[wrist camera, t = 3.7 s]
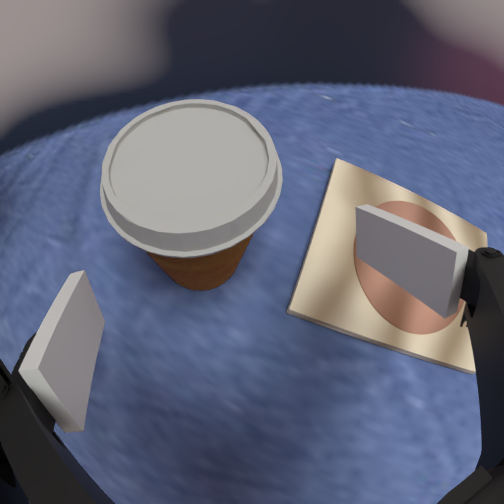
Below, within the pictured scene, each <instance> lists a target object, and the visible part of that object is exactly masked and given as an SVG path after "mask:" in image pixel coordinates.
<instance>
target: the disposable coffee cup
mask: <svg viewBox="0 0 504 504" xmlns="http://www.w3.org/2000/svg"><path fill="white" fill-rule="evenodd" d="M281 186H282V166H281V163H280V160H279V158H278V155H277V152H276V151H275V146H274V144H273V141H272V139H271V137H270V135H269V133H268V132H267V130H266V129H265V128H264V127H263V125H262V124H261V123H260V122H259V121H258V120H257V119H255V118H254V117H253V116H251V115H250V114H248V113H247V112H245V111H243V110H241V109H239V108H237V107H235V106H231V105H228V104H224V103H221V102H217V101H213V100H202V99H195V100H182V101H176V102H171V103H167V104H164V105H160V106H157V107H155V108H153V109H150V110H148V111H146V112H144V113H143V114H141V115H139V116H138V117H136V118H134V119H133V120H132V121H131V122H129V123H128V124H127V125H126V126H125V127H124V128H122V129H121V130H120V132H119V133H118V134H117V136H116V137H115V138H114V139H113V141H112V142H111V144H110V145H109V147H108V150H107V152H106V155H105V158H104V160H103V163H102V178H101V185H100V195H101V203H102V207H103V210H104V212H105V214H106V216H107V218H108V221H109V222H110V224H111V225H112V226H113V227H114V229H115V230H116V231H117V232H118V233H119V234H120V235H121V236H122V237H123V238H124V239H125V240H126V241H127V242H129V243H131V244H133V245H135V246H137V247H139V248H141V249H143V250H145V252H146V253H148V255H149V256H150V257H151V258H152V259H153V260H154V261H155V262H156V263H157V264H158V265H159V266H160V267H161V268H162V269H163V270H164V271H165V272H166V273H167V274H168V275H169V276H170V277H171V278H172V279H173V280H174V281H175V282H176V283H178V284H179V285H181V286H183V287H185V288H188V289H191V290H200V291H202V290H210V289H213V288H216V287H218V286H220V285H222V284H223V283H225V282H226V281H227V280H228V279H229V278H230V277H231V276H232V275H233V273H234V272H235V270H236V268H237V266H238V264H239V262H240V260H241V258H242V256H243V254H244V252H245V250H246V247H247V246H248V244H249V242H250V240H251V238H252V236H253V234H254V232H255V231H256V230H257V229H258V228H259V227H260V226H261V225H262V224H264V223H265V222H266V221H267V219H268V217H269V216H270V214H271V213H272V211H273V210H274V208H275V206H276V203H277V201H278V198H279V196H280V193H281Z"/></svg>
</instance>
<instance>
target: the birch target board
mask: <svg viewBox="0 0 504 504" xmlns="http://www.w3.org/2000/svg"><path fill="white" fill-rule="evenodd" d="M366 204H368V205H371V206H373V207H376V208H379V209H381V210H384V211H386V212H389V213H391V214H394V215H396V216H399V217H401V218H404V219H406V220H408V221H411V222H413V223H416V224H418V225H420V226H423V227H425V228H427V229H430V230H432V231H434V232H436V233H439V234H441V235H443V236H445V237H448V238H450V239H452V240H454V241H456V242H459V243H461V244H463V245H465V246H467V247H469V249H470V250H472V251H474V252H475V250H476V249H477V248H481V247H487V233H485V232H484V231H482V230H480V229H479V228H477V227H475V226H474V225H472V224H470V223H468V222H467V221H465V220H463V219H462V218H460V217H458V216H456V215H454V214H453V213H451V212H449V211H447V210H445V209H444V208H442V207H440V206H438V205H436V204H434V203H432V202H431V201H429V200H427V199H425V198H423V197H421V196H419V195H417V194H415V193H413V192H411V191H409V190H407V189H405V188H403V187H401V186H399V185H397V184H394V183H392V182H390V181H388V180H386V179H384V178H382V177H379V176H377V175H375V174H373V173H370V172H368V171H366V170H364V169H361V168H359V167H357V166H354V165H352V164H350V163H347V162H345V161H342V160H340V159H337V158H336V160H335V163H334V165H333V168H332V171H331V175H330V178H329V181H328V185H327V188H326V192H325V195H324V198H323V202H322V205H321V208H320V211H319V215H318V218H317V221H316V224H315V227H314V231H313V234H312V237H311V240H310V243H309V246H308V249H307V252H306V255H305V258H304V261H303V265H302V268H301V270H300V273H299V276H298V279H297V282H296V285H295V288H294V291H293V294H292V297H291V300H290V303H289V305H288V308H287V311H286V313H288V314H291V315H294V316H296V317H299V318H302V319H304V320H307V321H310V322H313V323H315V324H318V325H321V326H324V327H327V328H329V329H332V330H335V331H338V332H341V333H344V334H346V335H349V336H352V337H355V338H358V339H361V340H364V341H367V342H370V343H373V344H376V345H379V346H382V347H385V348H388V349H391V350H394V351H397V352H400V353H403V354H406V355H409V356H412V357H416V358H419V359H422V360H425V361H428V362H432V363H435V364H438V365H442V366H445V367H448V368H452V369H455V370H458V371H462V372H465V373H469V374H475V373H476V370H475V363H474V357H473V351H472V346H471V340H470V335H469V331H468V327H466V324H467V321H465V322H464V323H463V327H460V323H461V319H462V315H463V311H464V307H465V303H466V302H465V301H464V300H462V299H461V298H460V301H459V305H458V310H457V312H456V313H454V314H453V315H451V316H449V317H447V318H446V319H444V318H443V317H442V316H440V315H439V314H438V313H436V312H435V311H434V310H432V309H431V308H429V307H428V306H427V305H425V304H424V303H423V302H421V301H420V300H418V299H417V298H416V297H414V296H413V295H411V294H410V293H409V292H407V291H406V290H404V289H403V288H401V287H400V286H399V285H397V284H396V283H394V282H393V281H391V280H390V279H388V278H387V277H386V276H384V275H383V274H381V273H380V272H378V271H377V270H375V269H374V268H372V267H371V266H369V265H368V264H366V263H365V262H363V261H362V260H360V259H359V258H357V246H356V210H355V207H356V206H361V205H366Z"/></svg>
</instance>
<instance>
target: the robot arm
mask: <svg viewBox="0 0 504 504" xmlns="http://www.w3.org/2000/svg"><path fill="white" fill-rule="evenodd" d="M355 210H356V246H357V258H359V259H360V260H362V261H363V262H365V263H366V264H368V265H369V266H371V267H372V268H374V269H375V270H377V271H378V272H380V273H381V274H383V275H384V276H386V277H387V278H388V279H390V280H391V281H393V282H394V283H396V284H397V285H399V286H400V287H401V288H403V289H404V290H406V291H407V292H409V293H410V294H411V295H413V296H414V297H416V298H417V299H418V300H420V301H421V302H423V303H424V304H425V305H427V306H428V307H429V308H431V309H432V310H434V311H435V312H436V313H438V314H439V315H440V316H442V317H443V318H444V319H446V318H447V317H449V316H451V315H453V314H454V313H456V312H457V310H458V305H459V301H460V298H461V299H462V300H464V301H465V302H466V303H465V307H464V311H463V315H462V319H461V323H460V327H463V323H464V322H465V321H467V324H466V327H468V331H469V335H470V340H471V346H472V351H473V357H474V363H475V370H476V377H477V385H478V393H479V404H480V416H481V436H482V451H481V456H480V458H479V461H478V464H477V466H476V469H475V471H474V472H473V473H472V474H471V475H470V476H468V477H467V478H466V479H465V480H464V481H462V482H461V483H460V484H459V485H457V486H456V487H455V488H454V489H452V490H451V491H450V492H448V493H447V494H446V495H445V496H444V497H443V498H442V499H441V500H440V501H439V502H438V503H437V504H504V255H503V254H502V253H501V252H500V251H499V250H496V249H494V248H490V247H481V248H477V249H476V250H475V252H474V251H472V250H470V249H469V247H467V246H465V245H463V244H461V243H459V242H456V241H454V240H452V239H450V238H448V237H445V236H443V235H441V234H439V233H436V232H434V231H432V230H430V229H427V228H425V227H423V226H420V225H418V224H416V223H413V222H411V221H408V220H406V219H404V218H401V217H399V216H396V215H394V214H391V213H389V212H386V211H384V210H381V209H379V208H376V207H373V206H371V205H368V204H366V205H361V206H356V207H355ZM104 324H105V320H104V317H103V315H102V313H101V310H100V308H99V306H98V303H97V301H96V298H95V296H94V293H93V291H92V288H91V286H90V283H89V280H88V278H87V275H86V272H85V270H83V271H79V272H75V273H71V274H70V275H69V277H68V279H67V280H66V282H65V283H64V285H63V287H62V288H61V290H60V292H59V294H58V295H57V297H56V299H55V300H54V302H53V304H52V306H51V307H50V309H49V311H48V313H47V315H46V316H45V318H44V320H43V322H42V324H41V326H40V328H39V329H38V331H37V333H35V334H34V335H33V336H32V337H31V338H30V339H29V340H28V341H27V343H26V345H25V347H24V349H23V352H22V353H21V355H20V357H19V358H20V359H18V361H17V363H16V365H15V367H14V369H13V372H12V374H10V373H9V371H8V370H7V368H6V367H5V365H4V364H3V362H2V360H1V359H0V504H29V502H30V504H115V503H114V502H113V501H112V500H111V499H110V498H109V497H108V496H107V495H106V494H105V493H104V492H103V491H102V489H101V488H100V487H99V486H98V485H97V484H96V483H95V482H94V481H93V479H92V478H91V477H90V476H89V475H88V474H87V472H86V471H85V470H84V469H83V468H82V466H81V465H80V464H79V463H78V461H77V460H76V459H75V458H74V456H73V455H72V454H71V452H70V451H69V450H68V449H67V447H66V446H65V445H64V443H63V442H62V440H61V439H60V438H59V436H58V435H57V434H56V433H55V432H54V431H53V430H54V425H55V422H56V423H57V424H58V425H59V426H60V428H61V429H62V430H63V431H64V432H80V431H84V425H85V418H86V412H87V405H88V399H89V394H90V388H91V383H92V378H93V373H94V368H95V363H96V358H97V354H98V349H99V345H100V341H101V336H102V332H103V328H104ZM28 500H29V501H28Z"/></svg>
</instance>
